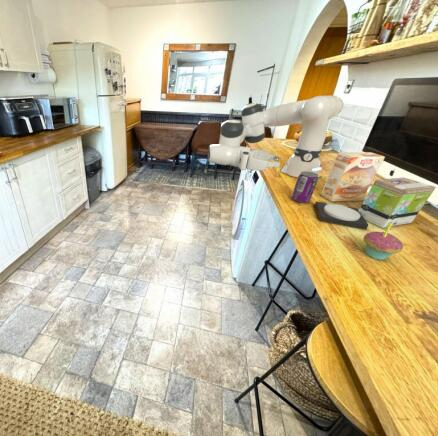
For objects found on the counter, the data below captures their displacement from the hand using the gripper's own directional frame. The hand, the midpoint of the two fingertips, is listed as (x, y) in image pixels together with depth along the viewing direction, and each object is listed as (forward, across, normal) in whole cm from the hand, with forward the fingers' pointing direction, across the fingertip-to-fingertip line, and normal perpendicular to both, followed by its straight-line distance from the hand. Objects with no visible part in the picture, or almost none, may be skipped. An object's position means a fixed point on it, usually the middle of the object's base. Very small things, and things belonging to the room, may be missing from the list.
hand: (279, 161), depth 100 cm
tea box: (+39, +5, -16) cm, 43 cm away
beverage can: (+12, 0, -16) cm, 20 cm away
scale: (+24, +10, -15) cm, 30 cm away
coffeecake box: (+29, -11, -16) cm, 35 cm away
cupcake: (+29, +33, -16) cm, 47 cm away
